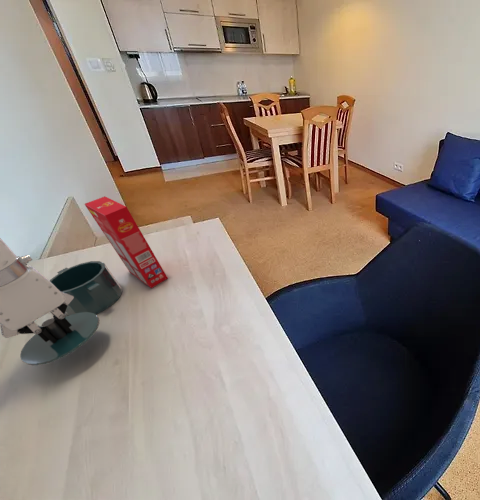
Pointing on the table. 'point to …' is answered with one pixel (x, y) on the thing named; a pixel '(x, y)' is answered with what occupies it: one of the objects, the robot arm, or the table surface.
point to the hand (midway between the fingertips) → (60, 334)
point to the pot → (88, 287)
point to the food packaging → (127, 240)
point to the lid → (60, 339)
